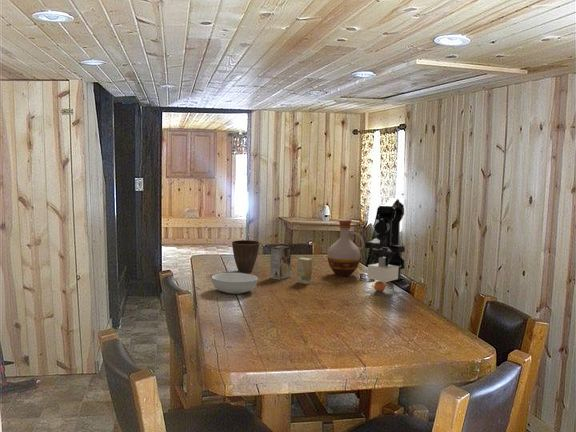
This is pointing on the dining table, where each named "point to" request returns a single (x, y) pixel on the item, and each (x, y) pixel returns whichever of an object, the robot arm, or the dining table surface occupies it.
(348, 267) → the jug
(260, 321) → the dining table surface
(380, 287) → the ball
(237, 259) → the plant pot
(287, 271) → the coffee box
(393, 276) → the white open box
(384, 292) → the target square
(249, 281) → the serving bowl
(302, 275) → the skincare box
